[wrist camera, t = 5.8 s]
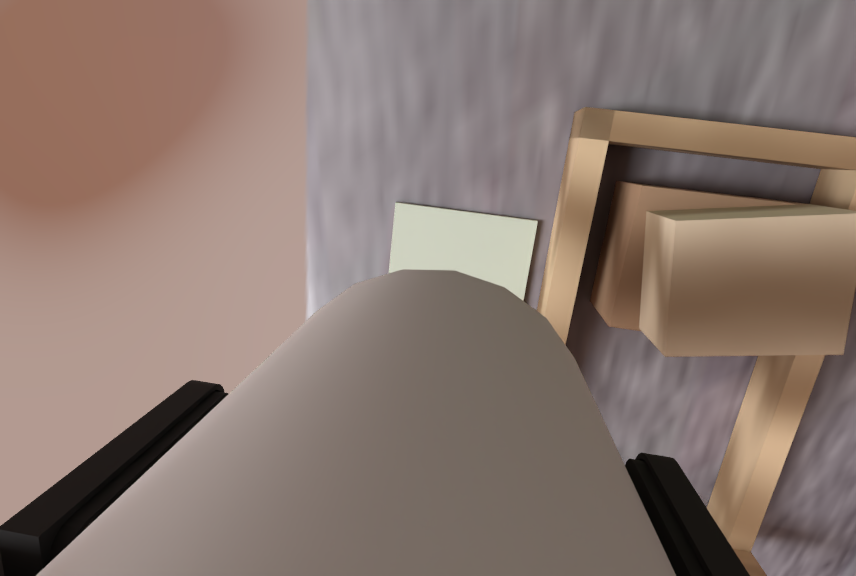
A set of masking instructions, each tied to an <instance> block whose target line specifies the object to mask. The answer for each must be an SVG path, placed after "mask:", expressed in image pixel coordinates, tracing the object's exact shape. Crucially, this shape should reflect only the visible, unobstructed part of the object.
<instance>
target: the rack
mask: <svg viewBox="0 0 856 576" xmlns="http://www.w3.org/2000/svg"><path fill="white" fill-rule="evenodd" d="M608 144H612V145H621V146H629V147H638V148H646V149H655V150H663V151H672V152H680V153H689V154H697V155H706V156H714V157H723V158H731V159H740V160H748V161H757V162H765V163H774V164H782V165H791V166H799V167H808V168H816V169H821V171H820V174H819V177H818V180H817V183H816V186H815V189H814V192H813V195H812V198H811V201H810V204H813V205H819V206H826V207H833V208H840V209H847V210H853V211H856V137H847V136H838V135H829V134H821V133H812V132H803V131H794V130H785V129H776V128H767V127H758V126H750V125H741V124H732V123H723V122H714V121H705V120H696V119H687V118H678V117H670V116H661V115H652V114H643V113H634V112H625V111H616V110H607V109H598V108H590V107H585V108H583V109H580V110H578V111H576V112H575V113H574V118H573V123H572V129H571V134H570V139H569V144H568V150H567V155H566V160H565V165H564V171H563V176H562V181H561V186H560V192H559V197H558V202H557V207H556V213H555V218H554V223H553V228H552V234H551V239H550V244H549V249H548V255H547V260H546V265H545V270H544V275H543V281H542V286H541V291H540V296H539V302H538V307H537V311H538V312H539V313H540V314H542V315H543V316H544V317H546V318H547V320H548V321H549V322H550V324H551V325H552V327H553V328H554V330H555V331H556V332H557V334H558V335H559V337H560V338H561V339H562V341H563V342H564V344H565V345H566V340H567V335H568V330H569V326H570V321H571V316H572V312H573V307H574V302H575V298H576V293H577V288H578V284H579V279H580V274H581V269H582V265H583V260H584V255H585V251H586V246H587V241H588V237H589V232H590V227H591V222H592V218H593V213H594V208H595V204H596V199H597V194H598V190H599V185H600V180H601V176H602V171H603V166H604V161H605V157H606V152H607V147H608ZM824 357H825V355H774V356H758V358H757V361H756V364H755V367H754V370H753V373H752V376H751V379H750V382H749V385H748V388H747V391H746V393H745V396H744V399H743V402H742V405H741V408H740V411H739V414H738V417H737V420H736V423H735V426H734V429H733V432H732V435H731V438H730V441H729V444H728V447H727V450H726V453H725V456H724V459H723V462H722V465H721V468H720V471H719V474H718V477H717V479H716V482H715V485H714V488H713V491H712V494H711V497H710V500H709V503H708V506H707V509H708V511H709V513H710V514H711V516H712V517H713V519H714V520H715V522H716V523H717V525H718V527H719V528H720V530H721V531H722V533H723V534H724V536H725V537H726V539H727V541H728V542H729V544H730V545H731V547H732V548H733V550H734V551H735V553H736V555H737V556H738V558H739V559H740V561H741V562H742V564H743V565H744V567H745V569H746V570H747V572H748V573H749V575H750V576H767V575H766V574H765V572H764V571H763V569H762V568H761V566H760V565H759V563H758V562H757V560H756V559H755V558H754V556H753V555H752V553H751V549H752V547H753V544H754V541H755V539H756V536H757V534H758V531H759V528H760V526H761V523H762V520H763V518H764V515H765V512H766V510H767V507H768V505H769V502H770V499H771V497H772V494H773V491H774V489H775V486H776V484H777V481H778V478H779V476H780V473H781V470H782V468H783V465H784V462H785V460H786V457H787V455H788V452H789V449H790V447H791V444H792V441H793V439H794V436H795V433H796V431H797V428H798V426H799V423H800V420H801V418H802V415H803V412H804V410H805V407H806V405H807V402H808V399H809V397H810V394H811V391H812V389H813V386H814V383H815V381H816V378H817V376H818V373H819V370H820V368H821V365H822V362H823V360H824Z"/></svg>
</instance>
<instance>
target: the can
mask: <svg viewBox="0 0 856 576" xmlns="http://www.w3.org/2000/svg"><path fill="white" fill-rule="evenodd" d="M36 576H676V574H675V572H674V570H673V568H672V566H671V564H670V561H669V559H668V557H667V555H666V553H665V551H664V549H663V546H662V544H661V542H660V540H659V538H658V536H657V534H656V531H655V529H654V527H653V525H652V523H651V521H650V519H649V516H648V514H647V512H646V510H645V508H644V506H643V504H642V501H641V499H640V497H639V495H638V493H637V491H636V489H635V486H634V484H633V482H632V480H631V478H630V476H629V474H628V471H627V469H626V467H625V465H624V463H623V461H622V459H621V456H620V454H619V452H618V450H617V448H616V446H615V444H614V441H613V439H612V437H611V435H610V433H609V431H608V429H607V426H606V424H605V422H604V420H603V418H602V416H601V414H600V411H599V409H598V407H597V405H596V403H595V401H594V399H593V396H592V394H591V392H590V390H589V388H588V386H587V384H586V381H585V379H584V377H583V375H582V373H581V371H580V369H579V366H578V364H577V362H576V360H575V358H574V357H573V355H572V354H571V352H570V351H569V349H568V348H567V347H566V345H565V344H564V342H563V341H562V339H561V338H560V337H559V335H558V334H557V332H556V331H555V330H554V328H553V327H552V325H551V324H550V322H549V321H548V320H547V318H546V317H544V316H543V315H542V314H540V313H539V312H538V311H536V310H535V309H534V308H532V307H531V306H529V305H528V304H527V303H525V302H524V301H523V300H521V299H520V298H519V297H517V296H516V295H515V294H513V293H512V292H510V291H509V290H508V289H506V288H505V287H502V286H500V285H497V284H494V283H491V282H488V281H485V280H482V279H479V278H476V277H473V276H470V275H467V274H464V273H461V272H458V271H455V270H411V269H402V270H399V271H395V272H392V273H389V274H385V275H382V276H379V277H376V278H372V279H369V280H366V281H362V282H359V283H356V284H354V285H352V286H351V287H350V288H348V289H347V290H345V291H344V292H343V293H341V294H340V295H338V296H337V297H336V298H334V299H333V300H332V301H330V302H329V303H327V304H326V305H325V306H323V307H322V308H320V309H319V310H318V311H316V312H315V313H314V314H313V315H312V316H311V317H310V318H309V319H308V320H307V321H306V322H305V323H304V324H303V325H301V326H300V327H299V328H298V329H297V330H296V331H295V332H294V333H293V334H292V335H291V336H290V337H289V338H288V339H287V340H286V341H285V342H283V344H281V345H280V346H279V347H278V348H277V349H276V350H275V351H274V352H273V353H272V354H271V355H270V356H269V357H268V358H266V359H265V360H264V361H263V362H262V363H261V364H260V365H259V366H258V367H257V368H256V369H255V370H254V371H253V372H252V373H251V374H249V376H247V377H246V378H245V379H244V380H243V381H242V382H241V383H240V384H239V385H238V386H237V387H236V388H235V389H234V390H232V391H231V392H230V393H229V394H228V395H227V396H226V397H225V398H224V399H223V400H222V401H221V402H220V403H219V404H218V405H217V406H216V407H214V408H213V409H212V410H211V411H210V412H209V413H208V414H207V415H206V416H205V417H204V418H203V419H202V420H201V421H200V422H199V423H197V424H196V425H195V426H194V427H193V428H192V429H191V430H190V431H189V432H188V433H187V434H186V435H185V436H184V437H183V438H182V439H180V440H179V441H178V442H177V443H176V444H175V445H174V446H173V447H172V448H171V449H170V450H169V451H168V452H167V453H166V454H165V455H163V456H162V457H161V458H160V459H159V460H158V461H157V462H156V463H155V464H154V465H153V466H152V467H151V468H150V469H149V470H148V471H147V472H145V473H144V474H143V475H142V476H141V477H140V478H139V479H138V480H137V481H136V482H135V483H134V484H133V485H132V486H131V487H130V488H128V489H127V490H126V491H125V492H124V493H123V494H122V495H121V496H120V497H119V498H118V499H117V500H116V501H115V502H114V503H113V504H111V505H110V506H109V507H108V508H107V509H106V510H105V511H104V512H103V513H102V514H101V515H100V516H99V517H98V518H97V519H96V520H95V521H93V522H92V523H91V524H90V525H89V526H88V527H87V528H86V529H85V530H84V531H83V532H82V533H81V534H80V535H79V536H78V537H76V538H75V539H74V540H73V541H72V542H71V543H70V544H69V545H68V546H67V547H66V548H65V549H64V550H63V551H62V552H61V553H59V554H58V555H57V556H56V557H55V558H54V559H53V560H52V561H51V562H50V563H49V564H48V565H47V566H46V567H45V568H44V569H43V570H41V571H40V572H39V573H38V574H37V575H36Z"/></svg>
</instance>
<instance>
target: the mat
mask: <svg viewBox="0 0 856 576" xmlns="http://www.w3.org/2000/svg"><path fill="white" fill-rule="evenodd" d="M537 223H538V221H537V220H530V219H522V218H515V217H507V216H499V215H492V214H484V213H476V212H469V211H461V210H453V209H446V208H438V207H430V206H423V205H415V204H407V203H400V202H396V203H395V214H394V224H393V234H392V245H391V255H390V265H389V273H392V272H395V271H399V270H402V269H411V270H455V271H458V272H461V273H464V274H467V275H470V276H473V277H476V278H479V279H482V280H485V281H488V282H491V283H494V284H497V285H500V286H502V287H505V288H506V289H508V290H509V291H510V292H512V293H513V294H515V295H516V296H517V297H519V298H520V299H521V300H524V295H525V289H526V284H527V278H528V273H529V267H530V262H531V256H532V251H533V245H534V240H535V234H536V229H537Z"/></svg>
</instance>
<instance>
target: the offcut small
mask: <svg viewBox="0 0 856 576" xmlns="http://www.w3.org/2000/svg"><path fill="white" fill-rule="evenodd" d="M855 288H856V211H853V210H847V209H840V208H833V207H826V206H819V205H813V204H795V205H772V206H750V207H728V208H705V209H683V210H660V211H646V225H645V241H644V257H643V273H642V289H641V305H640V321H639V329H640V330H641V331H642V332H643V333H644V334H645V335H646V336H647V337H648V339H649V340H650V341H651V342H652V343H653V344H654V345H655V346H656V347H657V348H658V349H659V351H660V352H661V353H662V354H663V355H664V356H665V357H679V356H774V355H843V353H844V348H845V342H846V337H847V331H848V326H849V321H850V315H851V310H852V304H853V299H854V294H855Z"/></svg>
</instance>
